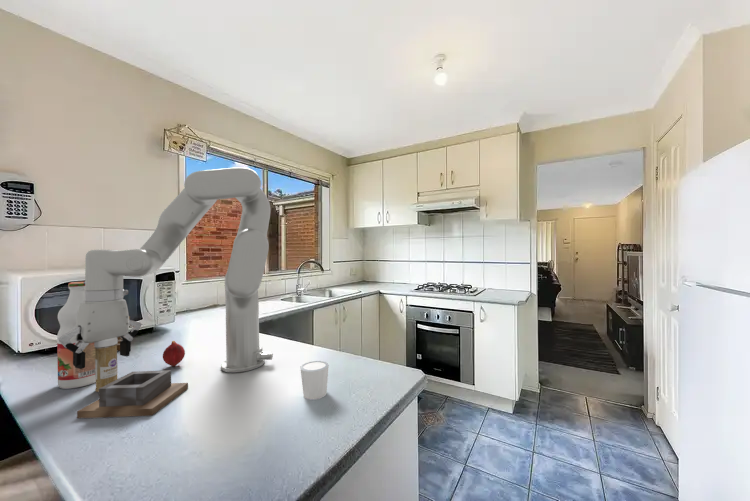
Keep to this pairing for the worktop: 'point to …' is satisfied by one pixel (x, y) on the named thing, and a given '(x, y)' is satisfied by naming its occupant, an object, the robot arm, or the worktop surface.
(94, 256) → the robot arm
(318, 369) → the white cup
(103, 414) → the socket stand
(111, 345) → the sprinkles bottle
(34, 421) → the worktop surface
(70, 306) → the fruit juice
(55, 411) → the worktop surface
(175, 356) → the onion
